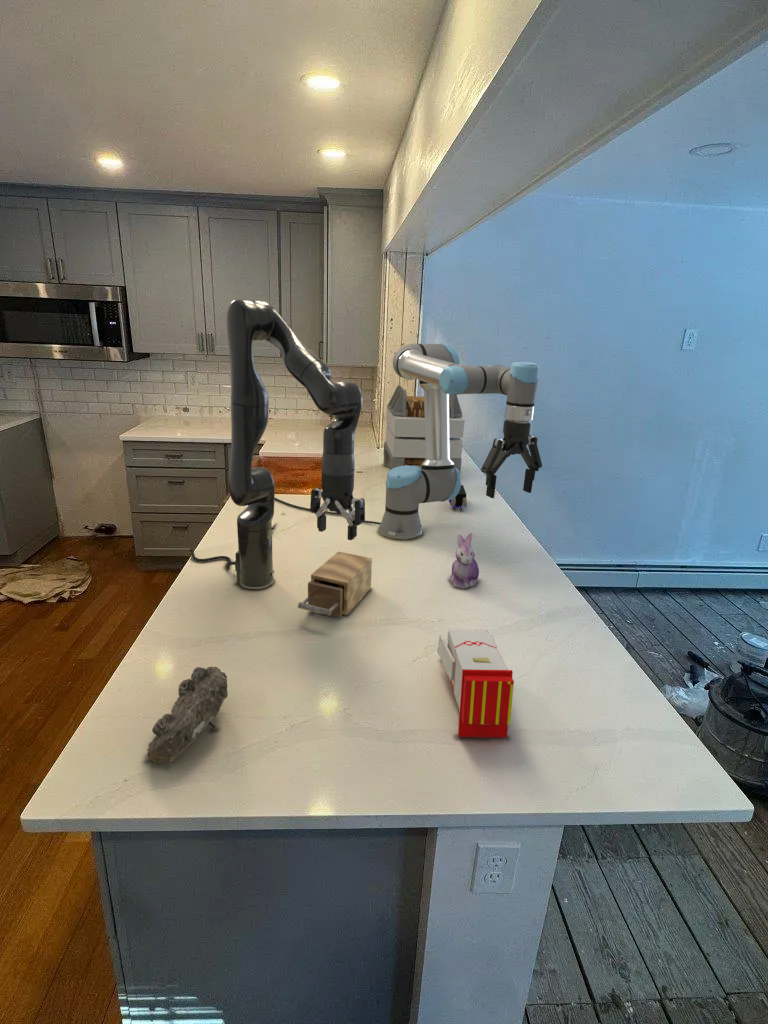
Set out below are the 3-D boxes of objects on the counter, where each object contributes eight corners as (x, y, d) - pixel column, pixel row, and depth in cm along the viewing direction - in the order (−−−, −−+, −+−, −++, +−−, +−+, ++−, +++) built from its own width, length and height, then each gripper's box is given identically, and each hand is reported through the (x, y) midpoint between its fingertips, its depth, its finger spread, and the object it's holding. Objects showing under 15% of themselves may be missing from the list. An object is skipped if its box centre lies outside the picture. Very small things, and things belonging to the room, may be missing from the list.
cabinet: (346, 615, 146) (347, 582, 142) (310, 607, 149) (310, 574, 146) (370, 588, 160) (372, 558, 157) (337, 581, 163) (338, 551, 160)
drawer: (330, 627, 138) (330, 600, 135) (296, 619, 141) (296, 592, 138) (363, 591, 156) (364, 566, 154) (333, 584, 159) (333, 560, 157)
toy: (488, 613, 130) (523, 677, 101) (484, 667, 133) (517, 744, 104) (435, 612, 130) (455, 676, 101) (432, 666, 133) (451, 743, 103)
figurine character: (467, 515, 225) (461, 499, 238) (469, 498, 221) (463, 482, 235) (450, 514, 224) (445, 498, 238) (452, 497, 221) (447, 482, 234)
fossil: (176, 667, 115) (228, 635, 110) (209, 698, 118) (262, 668, 113) (121, 756, 95) (182, 722, 90) (163, 791, 98) (223, 759, 93)
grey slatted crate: (382, 463, 289) (386, 382, 275) (445, 464, 293) (451, 384, 279) (390, 482, 257) (394, 392, 243) (460, 483, 261) (468, 394, 247)
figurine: (460, 592, 160) (465, 543, 155) (441, 577, 168) (445, 530, 163) (487, 586, 164) (493, 538, 159) (467, 572, 173) (472, 526, 168)
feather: (284, 516, 214) (286, 512, 213) (265, 543, 187) (268, 538, 187) (280, 514, 214) (282, 510, 213) (260, 540, 187) (263, 535, 187)
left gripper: (303, 467, 131) (303, 532, 136) (354, 479, 124) (352, 547, 130) (323, 461, 137) (322, 523, 142) (372, 472, 130) (369, 537, 136)
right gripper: (490, 425, 147) (481, 503, 154) (561, 420, 158) (550, 493, 165) (473, 420, 153) (465, 494, 160) (542, 415, 164) (532, 485, 171)
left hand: (336, 534), depth 136 cm, fingers open, 8 cm apart
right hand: (508, 494), depth 163 cm, fingers open, 13 cm apart
